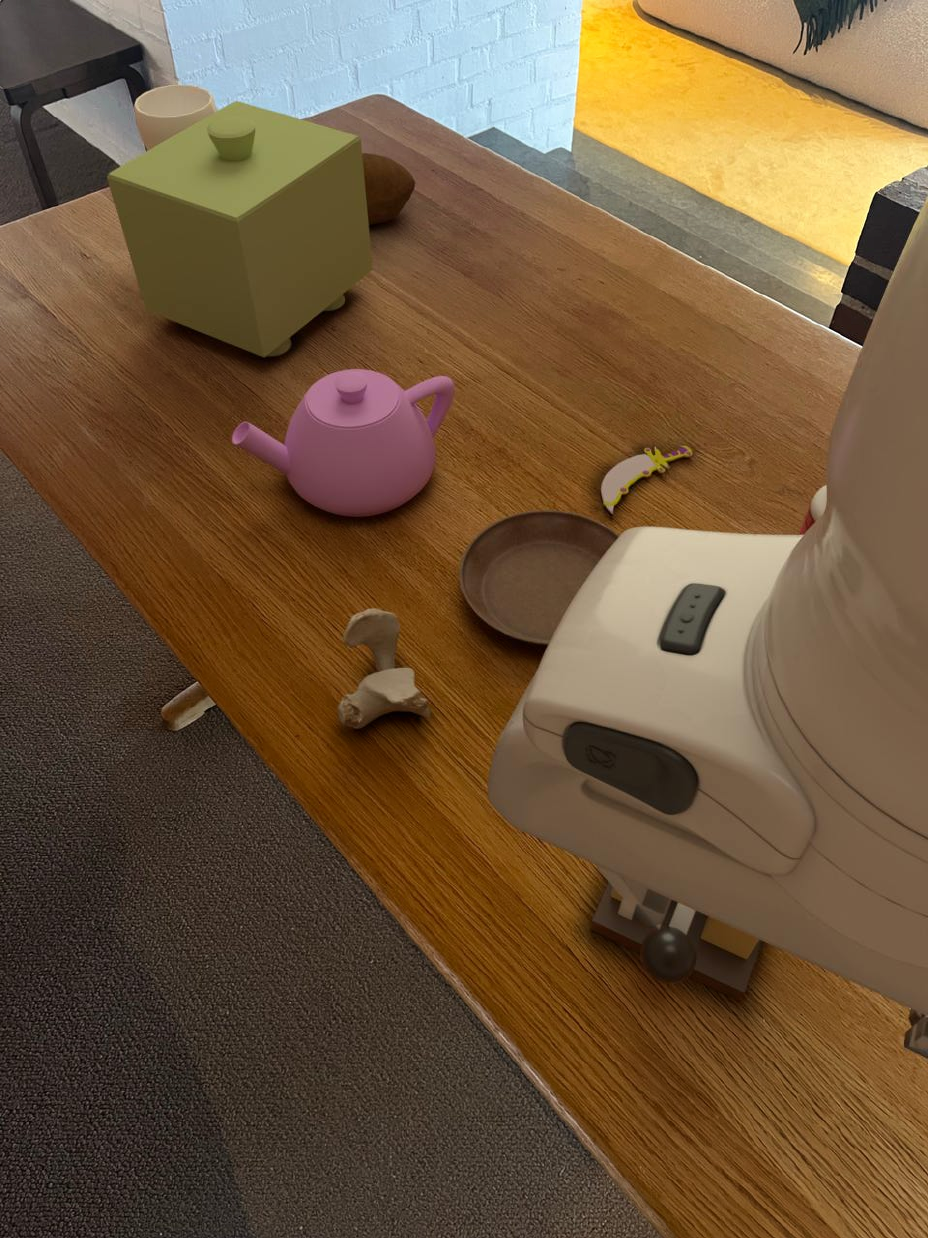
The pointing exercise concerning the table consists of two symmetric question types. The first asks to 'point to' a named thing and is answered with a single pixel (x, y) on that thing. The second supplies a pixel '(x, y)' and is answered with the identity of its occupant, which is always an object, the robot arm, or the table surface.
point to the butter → (722, 935)
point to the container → (246, 224)
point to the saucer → (531, 570)
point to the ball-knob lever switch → (670, 949)
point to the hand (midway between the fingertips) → (781, 968)
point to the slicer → (711, 960)
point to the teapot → (356, 442)
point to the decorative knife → (635, 473)
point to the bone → (379, 672)
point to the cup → (170, 111)
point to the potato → (385, 187)
